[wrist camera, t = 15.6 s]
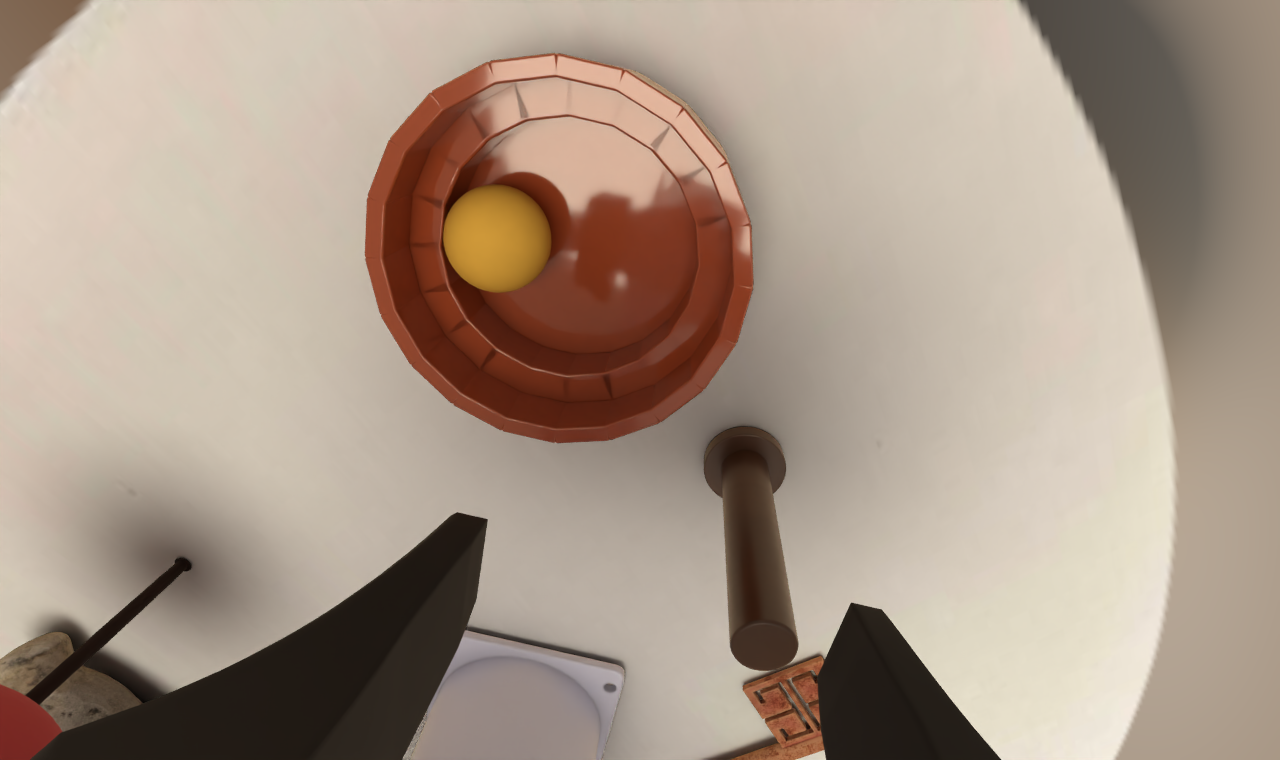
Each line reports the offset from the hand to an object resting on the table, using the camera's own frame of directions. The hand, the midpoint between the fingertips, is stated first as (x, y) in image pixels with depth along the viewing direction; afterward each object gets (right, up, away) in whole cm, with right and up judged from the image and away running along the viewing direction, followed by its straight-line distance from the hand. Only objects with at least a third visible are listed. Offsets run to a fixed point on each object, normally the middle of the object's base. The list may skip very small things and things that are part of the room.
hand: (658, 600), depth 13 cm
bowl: (-2, +9, +8) cm, 12 cm away
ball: (-4, +8, +6) cm, 11 cm away
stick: (+3, +1, +10) cm, 11 cm away
